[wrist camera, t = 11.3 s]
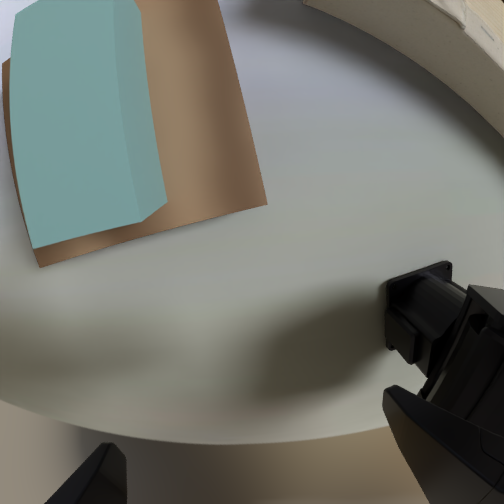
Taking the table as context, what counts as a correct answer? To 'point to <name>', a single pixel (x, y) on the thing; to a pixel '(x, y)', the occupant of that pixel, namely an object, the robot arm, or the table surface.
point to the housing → (82, 119)
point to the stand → (181, 126)
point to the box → (440, 42)
